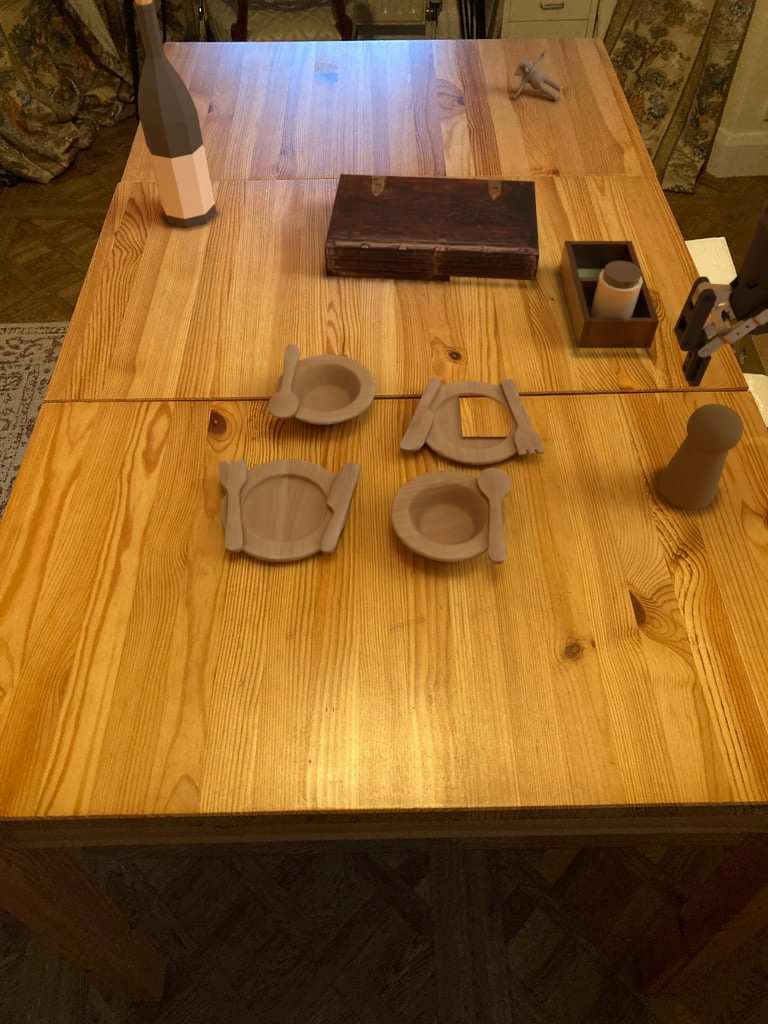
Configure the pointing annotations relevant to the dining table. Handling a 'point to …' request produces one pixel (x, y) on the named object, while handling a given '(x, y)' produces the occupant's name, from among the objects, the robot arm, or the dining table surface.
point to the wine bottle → (171, 131)
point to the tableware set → (325, 497)
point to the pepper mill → (701, 457)
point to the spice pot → (617, 291)
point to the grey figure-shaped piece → (535, 77)
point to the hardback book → (432, 228)
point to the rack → (580, 285)
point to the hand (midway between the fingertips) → (737, 381)
